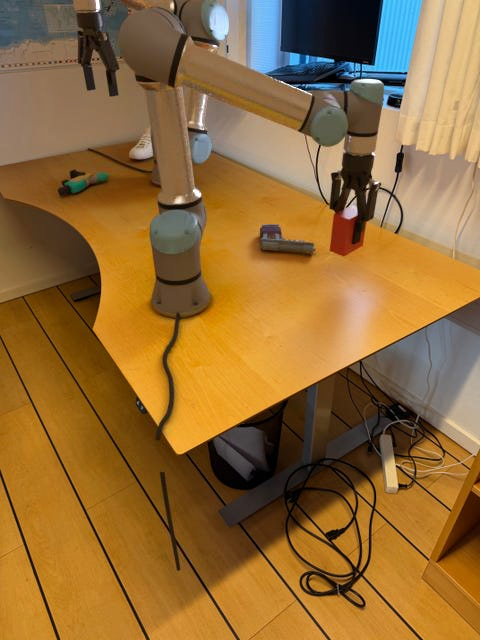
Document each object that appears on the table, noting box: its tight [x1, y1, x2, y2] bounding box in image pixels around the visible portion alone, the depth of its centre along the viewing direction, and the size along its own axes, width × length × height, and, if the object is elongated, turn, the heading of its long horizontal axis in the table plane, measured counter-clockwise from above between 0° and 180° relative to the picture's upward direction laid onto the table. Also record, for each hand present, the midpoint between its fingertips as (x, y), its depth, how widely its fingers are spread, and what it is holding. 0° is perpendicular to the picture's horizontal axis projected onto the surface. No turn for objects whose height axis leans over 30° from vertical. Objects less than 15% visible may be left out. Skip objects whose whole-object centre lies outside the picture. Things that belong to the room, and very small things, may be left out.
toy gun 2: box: [259, 223, 317, 255], centre depth 150 cm, size 4×19×15 cm
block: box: [329, 204, 367, 258], centre depth 127 cm, size 5×9×11 cm, turn 134°
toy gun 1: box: [57, 168, 110, 197], centre depth 194 cm, size 4×26×15 cm
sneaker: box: [128, 125, 153, 161], centre depth 226 cm, size 10×29×12 cm, turn 163°
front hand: (347, 239), depth 128 cm, fingers closed on block, 5 cm apart
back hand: (102, 93), depth 148 cm, fingers open, 13 cm apart
